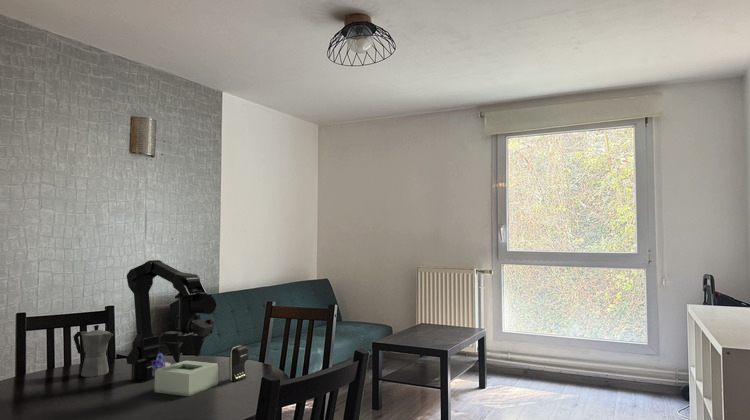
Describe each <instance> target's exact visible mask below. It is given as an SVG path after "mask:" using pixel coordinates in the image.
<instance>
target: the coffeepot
mask: <svg viewBox="0 0 750 420" xmlns="http://www.w3.org/2000/svg"><path fill="white" fill-rule="evenodd" d="M99 327H100V325H98V324H96V325H94V326H93V329H94V330H91V331H81V330H80V331H77V332H76V333H75V334H74V335H73V342H74V344H75V347H76V351H77V353H78V354H80V355H81V354H82V355H83V354H84V353H85V356H84V360H83V364H82V369H81V373H80V376H81V377H84V378H95V377H94V376H96V377H100V376H104V375H108V374H109V371H110V370H109V369H110V368H109V363H108V357H107V355H106V353H107V351H108V346H109V341H110V339H111V338H112V337H113V336H114V333H113V332H111V331H106V330H102V329H100V330H99ZM79 337H81V338H82V344H83V350H82V349H81V347H82V346H81V343H80V338H79Z"/></svg>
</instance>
